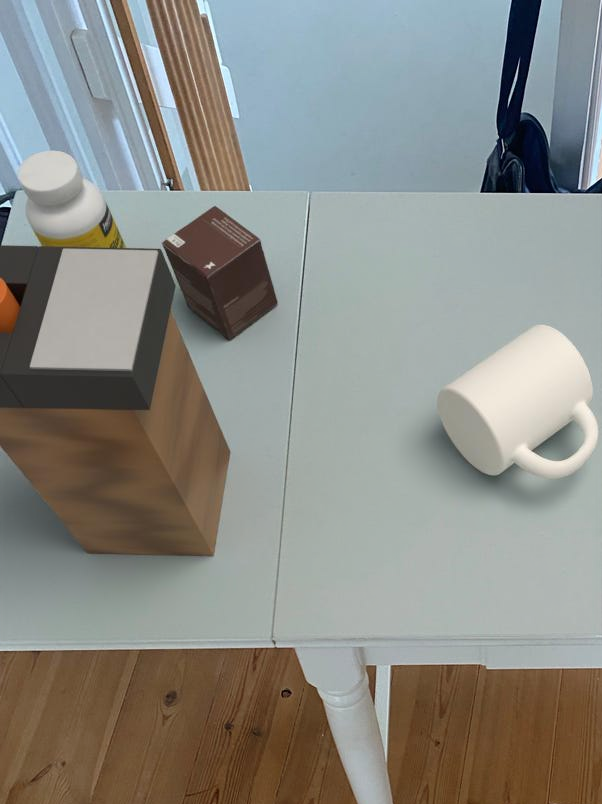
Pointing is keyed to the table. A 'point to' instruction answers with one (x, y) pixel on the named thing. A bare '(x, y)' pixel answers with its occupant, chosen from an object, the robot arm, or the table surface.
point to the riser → (130, 464)
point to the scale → (84, 326)
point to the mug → (521, 405)
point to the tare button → (7, 309)
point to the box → (221, 271)
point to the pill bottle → (65, 204)
